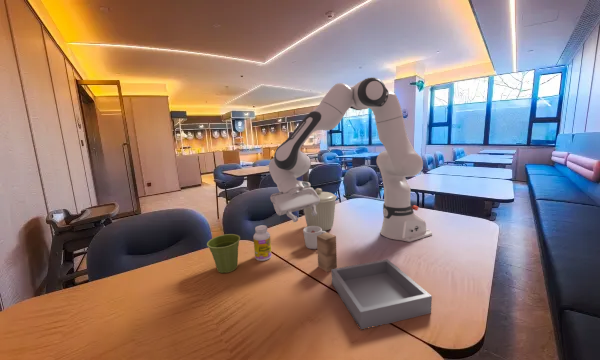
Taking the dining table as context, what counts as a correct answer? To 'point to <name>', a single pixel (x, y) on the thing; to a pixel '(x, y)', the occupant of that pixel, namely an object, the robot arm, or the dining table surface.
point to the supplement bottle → (262, 243)
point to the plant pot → (225, 252)
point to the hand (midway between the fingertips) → (306, 218)
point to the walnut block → (326, 251)
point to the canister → (322, 211)
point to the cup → (312, 236)
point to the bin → (380, 293)
